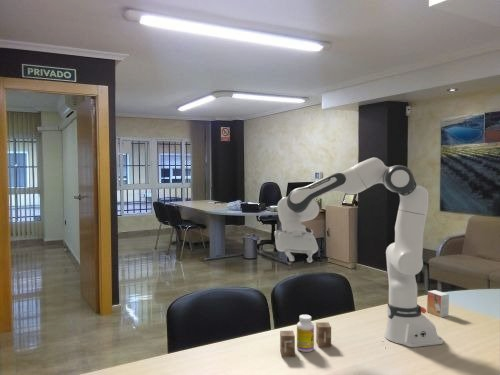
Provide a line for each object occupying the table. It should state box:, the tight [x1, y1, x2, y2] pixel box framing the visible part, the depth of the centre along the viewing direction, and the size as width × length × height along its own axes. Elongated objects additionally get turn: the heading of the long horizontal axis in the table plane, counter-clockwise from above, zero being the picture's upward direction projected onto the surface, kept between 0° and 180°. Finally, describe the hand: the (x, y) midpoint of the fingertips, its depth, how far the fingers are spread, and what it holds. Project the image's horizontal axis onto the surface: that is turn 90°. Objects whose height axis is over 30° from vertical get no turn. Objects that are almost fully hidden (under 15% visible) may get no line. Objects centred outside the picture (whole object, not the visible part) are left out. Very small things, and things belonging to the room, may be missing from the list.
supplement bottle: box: [296, 314, 315, 353], centre depth 159 cm, size 7×7×13 cm
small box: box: [426, 289, 450, 318], centre depth 196 cm, size 8×6×10 cm
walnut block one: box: [315, 321, 332, 348], centre depth 163 cm, size 5×5×8 cm
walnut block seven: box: [279, 330, 296, 358], centre depth 155 cm, size 5×5×8 cm
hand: (301, 261), depth 168 cm, fingers open, 8 cm apart
